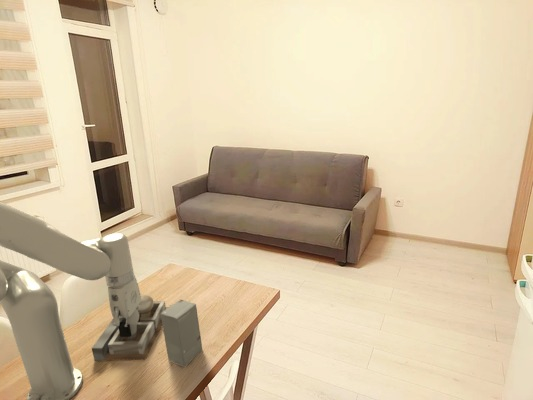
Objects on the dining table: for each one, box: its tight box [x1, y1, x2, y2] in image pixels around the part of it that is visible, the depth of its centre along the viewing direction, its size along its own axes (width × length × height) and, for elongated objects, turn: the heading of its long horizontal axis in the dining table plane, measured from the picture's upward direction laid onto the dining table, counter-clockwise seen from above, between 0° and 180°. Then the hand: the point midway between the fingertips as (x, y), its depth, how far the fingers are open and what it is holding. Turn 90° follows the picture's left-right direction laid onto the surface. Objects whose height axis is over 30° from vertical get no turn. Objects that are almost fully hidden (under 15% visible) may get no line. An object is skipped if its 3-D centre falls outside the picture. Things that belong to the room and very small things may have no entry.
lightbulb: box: [120, 309, 139, 340], centre depth 102 cm, size 6×6×11 cm
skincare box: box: [160, 299, 203, 368], centre depth 97 cm, size 8×7×16 cm
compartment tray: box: [91, 294, 169, 362], centre depth 108 cm, size 24×15×10 cm, turn 178°
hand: (130, 328), depth 102 cm, fingers closed on lightbulb, 5 cm apart
